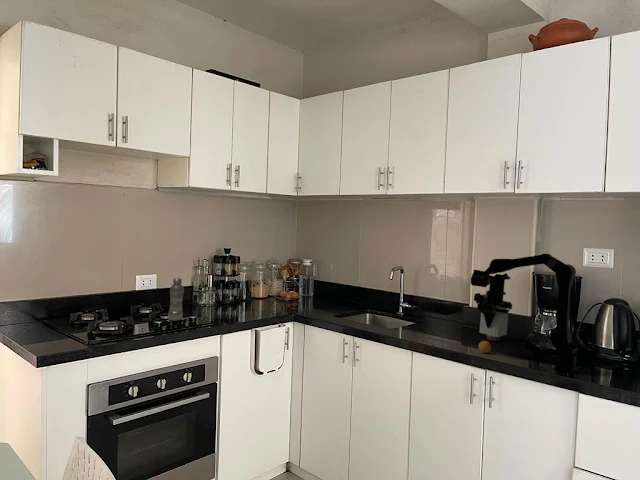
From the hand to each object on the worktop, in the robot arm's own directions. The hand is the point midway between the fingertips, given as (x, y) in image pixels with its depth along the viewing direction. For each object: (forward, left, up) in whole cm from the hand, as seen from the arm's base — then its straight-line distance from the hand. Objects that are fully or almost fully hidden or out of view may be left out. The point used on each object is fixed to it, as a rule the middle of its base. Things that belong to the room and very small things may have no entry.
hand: (493, 326), depth 204 cm
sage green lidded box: (0, 0, -3) cm, 3 cm away
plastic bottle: (+117, +82, -12) cm, 143 cm away
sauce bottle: (+14, -28, -12) cm, 34 cm away
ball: (+3, 0, -9) cm, 10 cm away
